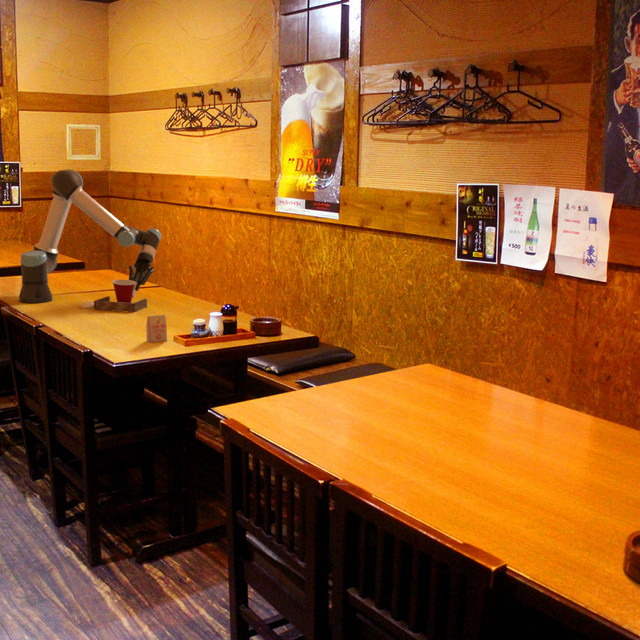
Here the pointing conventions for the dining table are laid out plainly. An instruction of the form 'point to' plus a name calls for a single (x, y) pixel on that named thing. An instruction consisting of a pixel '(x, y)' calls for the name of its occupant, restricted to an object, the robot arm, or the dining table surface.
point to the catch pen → (119, 305)
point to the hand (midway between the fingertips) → (131, 295)
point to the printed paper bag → (156, 329)
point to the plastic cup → (124, 290)
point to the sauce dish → (87, 305)
